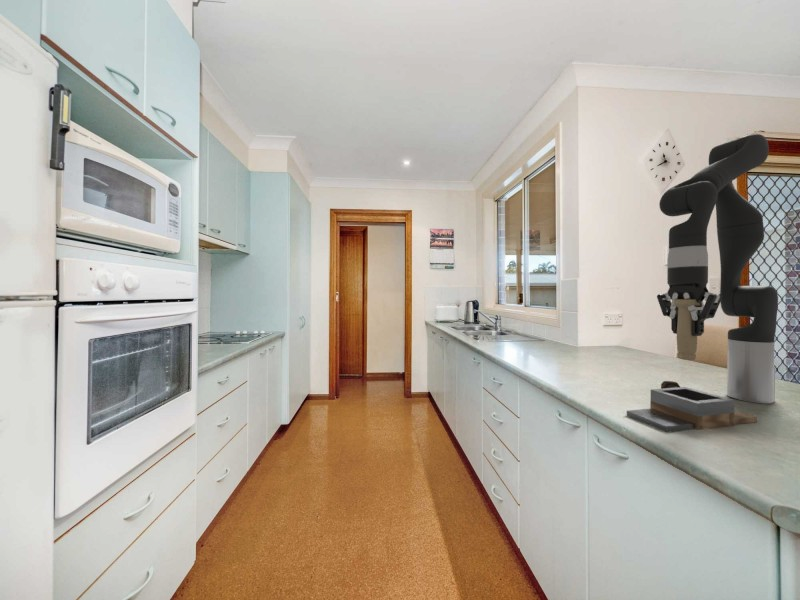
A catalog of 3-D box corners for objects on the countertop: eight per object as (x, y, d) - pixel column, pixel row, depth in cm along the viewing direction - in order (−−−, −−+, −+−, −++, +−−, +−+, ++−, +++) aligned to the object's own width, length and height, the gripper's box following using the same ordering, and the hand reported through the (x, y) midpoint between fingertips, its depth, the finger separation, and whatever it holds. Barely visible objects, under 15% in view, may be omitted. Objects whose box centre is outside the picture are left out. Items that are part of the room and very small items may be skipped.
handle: (700, 358, 80) (700, 299, 80) (699, 362, 75) (699, 299, 75) (675, 355, 83) (675, 299, 83) (672, 359, 79) (672, 299, 79)
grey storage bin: (683, 408, 85) (684, 386, 85) (734, 425, 75) (734, 400, 74) (624, 414, 82) (625, 391, 81) (668, 432, 71) (669, 406, 71)
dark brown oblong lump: (670, 397, 100) (686, 411, 87) (652, 388, 102) (666, 400, 89) (681, 383, 99) (700, 395, 86) (664, 373, 101) (679, 383, 88)
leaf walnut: (707, 406, 87) (707, 395, 87) (759, 422, 76) (760, 410, 76) (650, 412, 83) (650, 400, 83) (697, 429, 72) (697, 416, 72)
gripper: (733, 263, 73) (733, 337, 73) (670, 268, 87) (670, 330, 87) (707, 263, 71) (707, 339, 72) (647, 268, 85) (647, 331, 86)
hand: (686, 334), depth 79 cm, fingers closed on handle, 4 cm apart
